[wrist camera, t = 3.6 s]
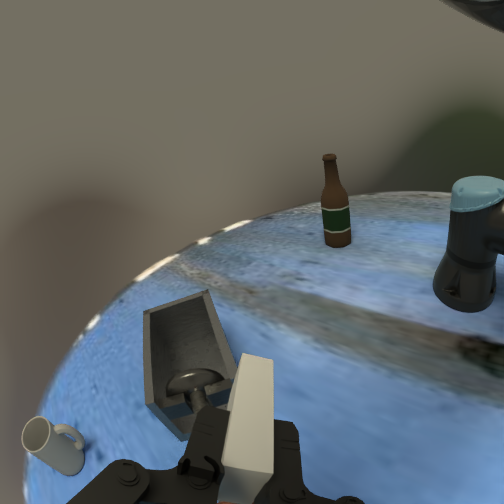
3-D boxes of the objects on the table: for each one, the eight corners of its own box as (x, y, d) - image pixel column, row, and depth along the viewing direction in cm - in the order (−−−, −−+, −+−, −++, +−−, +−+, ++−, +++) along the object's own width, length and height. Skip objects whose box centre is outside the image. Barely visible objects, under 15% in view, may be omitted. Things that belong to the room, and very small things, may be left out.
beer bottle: (356, 244, 71) (349, 154, 60) (330, 251, 71) (319, 159, 60) (345, 233, 78) (337, 150, 67) (320, 239, 78) (309, 155, 67)
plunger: (280, 509, 19) (268, 499, 15) (209, 527, 18) (178, 520, 14) (233, 394, 35) (215, 360, 31) (179, 411, 33) (154, 379, 30)
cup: (52, 453, 28) (19, 426, 24) (88, 430, 34) (57, 402, 30) (63, 482, 23) (25, 458, 19) (102, 459, 29) (67, 433, 25)
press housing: (258, 417, 35) (240, 376, 30) (181, 441, 32) (145, 404, 27) (224, 334, 52) (207, 289, 47) (167, 353, 50) (143, 311, 45)
